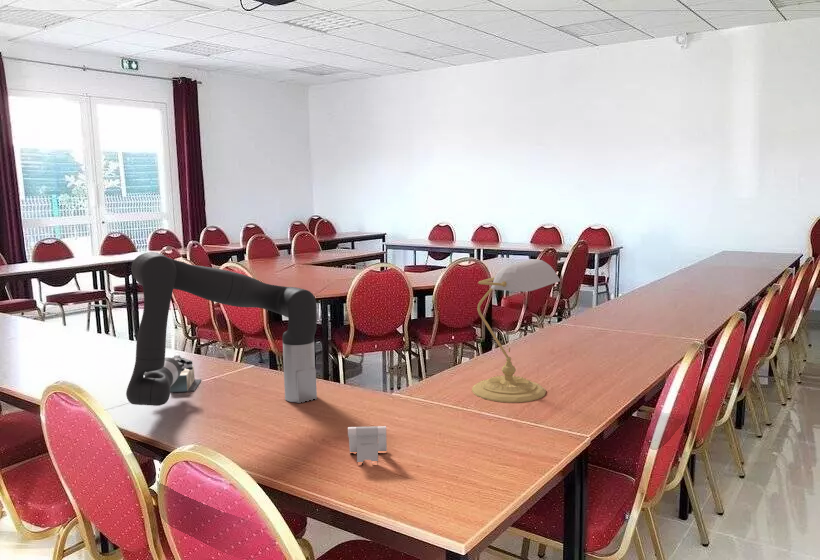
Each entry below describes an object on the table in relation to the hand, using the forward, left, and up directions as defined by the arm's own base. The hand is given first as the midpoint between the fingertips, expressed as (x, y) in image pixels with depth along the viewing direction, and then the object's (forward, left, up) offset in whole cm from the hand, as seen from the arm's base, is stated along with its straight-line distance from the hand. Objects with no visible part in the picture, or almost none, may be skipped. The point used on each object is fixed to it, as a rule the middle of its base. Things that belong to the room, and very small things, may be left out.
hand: (177, 358), depth 202 cm
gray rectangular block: (+5, -3, -11) cm, 12 cm away
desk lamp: (-65, -79, -11) cm, 103 cm away
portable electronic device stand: (-80, -17, -11) cm, 83 cm away
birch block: (-1, +1, -8) cm, 8 cm away
